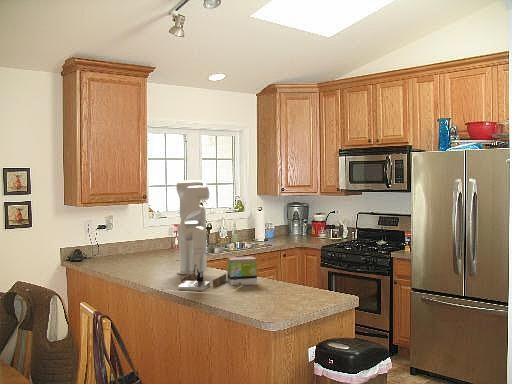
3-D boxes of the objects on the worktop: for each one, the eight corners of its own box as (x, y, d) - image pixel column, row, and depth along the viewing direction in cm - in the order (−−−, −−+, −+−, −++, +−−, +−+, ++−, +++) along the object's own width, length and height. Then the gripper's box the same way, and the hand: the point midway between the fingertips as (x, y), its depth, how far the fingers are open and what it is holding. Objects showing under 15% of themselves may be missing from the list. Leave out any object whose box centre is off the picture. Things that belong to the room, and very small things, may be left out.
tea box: (231, 286, 299) (230, 259, 298) (227, 283, 308) (226, 257, 308) (257, 284, 303) (257, 258, 302) (252, 281, 312) (252, 255, 312)
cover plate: (186, 285, 300) (186, 280, 300) (209, 286, 296) (209, 281, 296) (178, 290, 291) (178, 286, 291) (202, 291, 287) (202, 287, 286)
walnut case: (194, 280, 316) (194, 272, 316) (226, 282, 310) (226, 273, 310) (181, 286, 300) (181, 277, 300) (214, 288, 294) (214, 279, 294)
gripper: (198, 248, 307) (199, 281, 308) (187, 252, 293) (188, 286, 294) (211, 249, 305) (211, 281, 306) (200, 253, 291) (200, 287, 291)
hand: (200, 284), depth 300 cm, fingers closed
